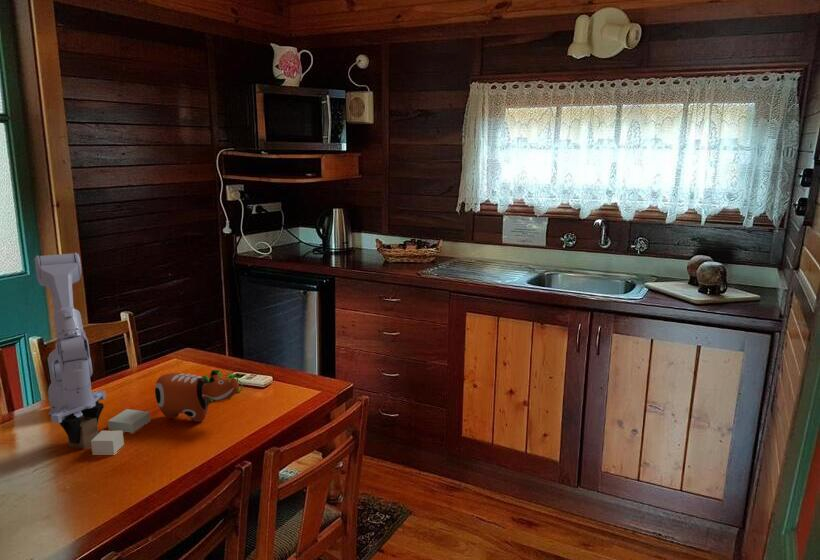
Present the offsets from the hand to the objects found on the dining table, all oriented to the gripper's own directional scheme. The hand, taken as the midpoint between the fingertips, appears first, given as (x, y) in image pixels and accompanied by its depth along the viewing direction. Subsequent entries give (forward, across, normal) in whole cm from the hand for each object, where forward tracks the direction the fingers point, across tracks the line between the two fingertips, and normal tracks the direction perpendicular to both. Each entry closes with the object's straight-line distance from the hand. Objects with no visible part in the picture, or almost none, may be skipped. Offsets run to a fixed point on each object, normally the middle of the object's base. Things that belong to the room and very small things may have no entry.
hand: (83, 437), depth 141 cm
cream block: (+2, -1, -8) cm, 8 cm away
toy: (+2, +18, -20) cm, 27 cm away
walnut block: (+2, 0, 0) cm, 2 cm away
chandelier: (+2, +36, -14) cm, 38 cm away
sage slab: (+2, +11, -4) cm, 12 cm away
